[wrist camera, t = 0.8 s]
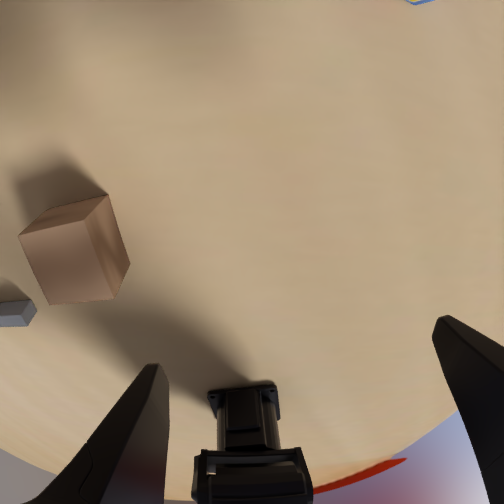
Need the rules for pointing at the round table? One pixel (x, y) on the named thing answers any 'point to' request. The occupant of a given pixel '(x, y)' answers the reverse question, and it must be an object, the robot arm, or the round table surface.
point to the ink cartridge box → (418, 1)
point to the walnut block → (77, 252)
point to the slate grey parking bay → (16, 313)
